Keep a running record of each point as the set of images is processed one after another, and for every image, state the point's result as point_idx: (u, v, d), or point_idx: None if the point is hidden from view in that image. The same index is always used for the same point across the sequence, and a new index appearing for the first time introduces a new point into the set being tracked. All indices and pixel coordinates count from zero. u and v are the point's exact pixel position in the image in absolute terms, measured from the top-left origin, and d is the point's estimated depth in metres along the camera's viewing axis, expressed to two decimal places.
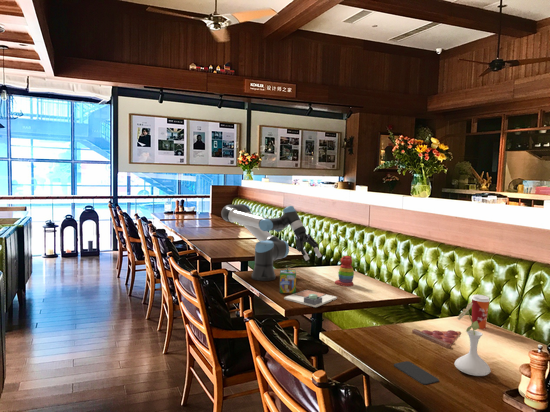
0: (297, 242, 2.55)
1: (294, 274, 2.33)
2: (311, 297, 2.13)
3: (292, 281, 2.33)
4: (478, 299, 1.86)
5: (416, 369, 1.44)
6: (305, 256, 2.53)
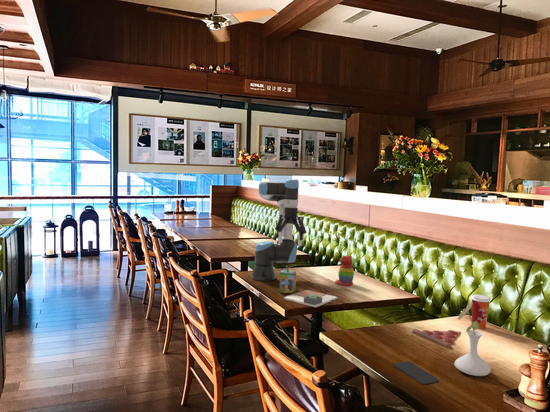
0: None
1: (294, 274, 2.33)
2: (311, 297, 2.13)
3: (292, 281, 2.33)
4: (478, 299, 1.86)
5: (416, 369, 1.44)
6: None
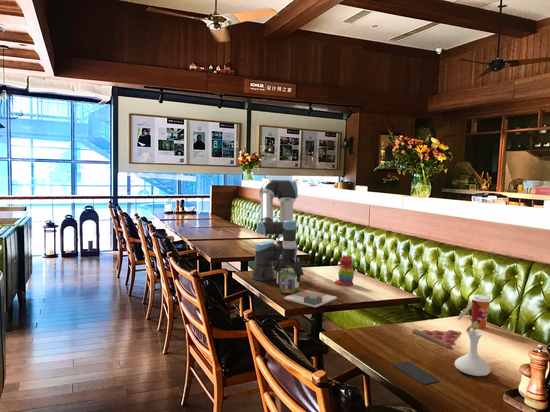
0: None
1: (294, 274, 2.33)
2: (311, 297, 2.13)
3: (292, 281, 2.33)
4: (478, 299, 1.86)
5: (416, 369, 1.44)
6: None
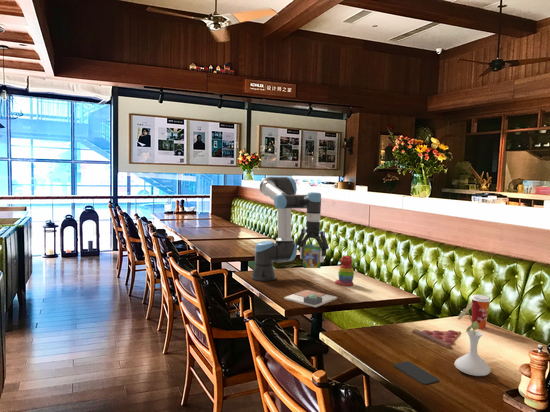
0: None
1: (319, 248, 2.23)
2: (311, 297, 2.13)
3: (317, 255, 2.23)
4: (478, 299, 1.86)
5: (416, 369, 1.44)
6: None
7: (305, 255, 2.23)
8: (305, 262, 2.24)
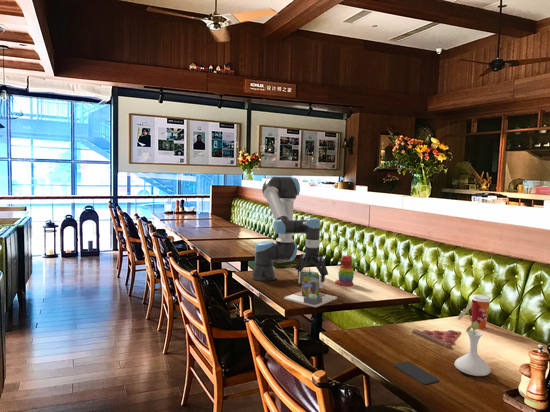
0: None
1: (317, 276, 2.24)
2: (311, 297, 2.13)
3: (316, 284, 2.25)
4: (478, 299, 1.86)
5: (416, 369, 1.44)
6: None
7: (304, 283, 2.25)
8: (303, 290, 2.25)
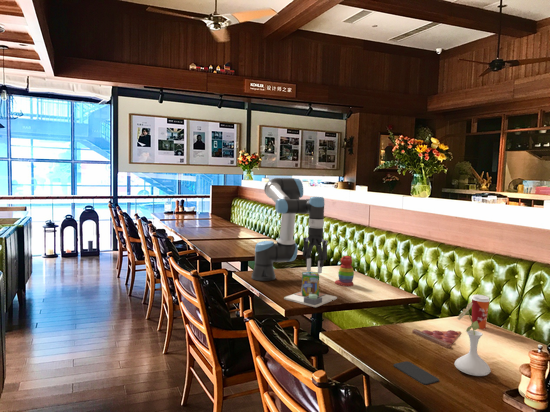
0: None
1: (317, 276, 2.24)
2: (311, 297, 2.13)
3: (316, 284, 2.25)
4: (478, 299, 1.86)
5: (416, 369, 1.44)
6: None
7: (303, 283, 2.25)
8: (303, 290, 2.25)
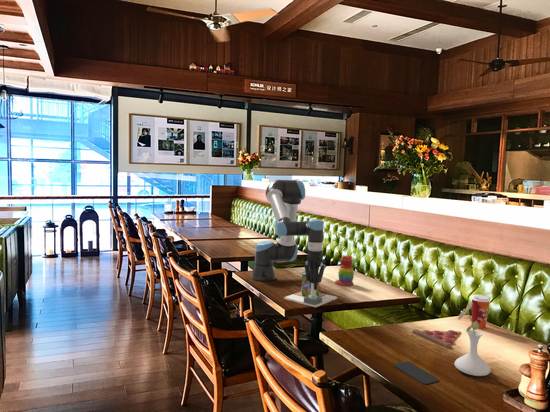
0: None
1: None
2: (311, 298, 2.13)
3: None
4: (478, 299, 1.86)
5: (416, 369, 1.44)
6: None
7: (303, 283, 2.25)
8: (303, 290, 2.25)
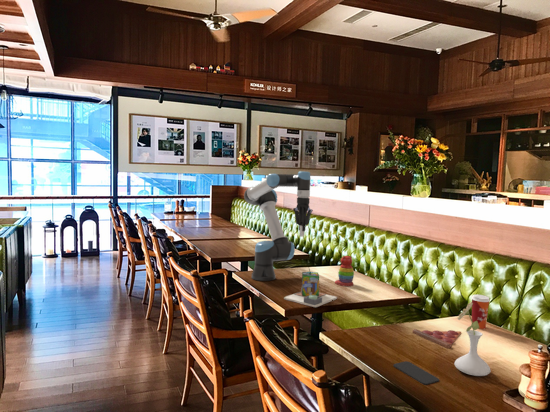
0: None
1: (317, 276, 2.24)
2: (311, 298, 2.13)
3: (316, 284, 2.25)
4: (478, 299, 1.86)
5: (416, 369, 1.44)
6: None
7: (303, 283, 2.25)
8: (303, 290, 2.25)
